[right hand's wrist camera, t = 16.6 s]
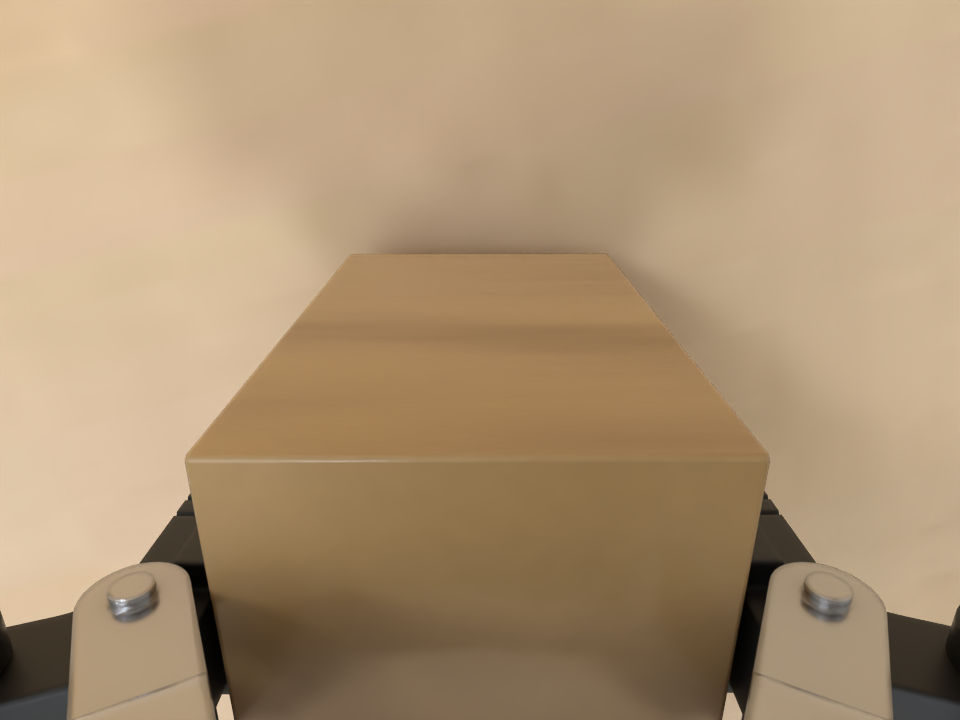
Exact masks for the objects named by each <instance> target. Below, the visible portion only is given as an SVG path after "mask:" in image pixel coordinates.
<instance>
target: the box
mask: <svg viewBox="0 0 960 720" xmlns="http://www.w3.org/2000/svg"><path fill="white" fill-rule="evenodd" d="M769 463H770V458H769V455H768V453H767V452H766V450H765V449H764V448H763V447H762V445H761V444H760V443H759V442H758V440H757V439H756V438H755V437H754V436H753V434H752V433H751V432H750V431H749V429H748V428H747V427H746V426H745V424H744V423H743V422H742V421H741V419H740V418H739V417H738V416H737V415H736V413H735V412H734V411H733V410H732V408H731V407H730V406H729V405H728V403H727V402H726V401H725V400H724V398H723V397H722V396H721V395H720V393H719V392H718V391H717V390H716V389H715V387H714V386H713V385H712V384H711V382H710V381H709V380H708V379H707V377H706V376H705V375H704V374H703V372H702V371H701V370H700V369H699V367H698V366H697V365H696V364H695V363H694V361H693V360H692V359H691V358H690V356H689V355H688V354H687V353H686V351H685V350H684V349H683V348H682V346H681V345H680V344H679V343H678V342H677V340H676V339H675V338H674V337H673V335H672V334H671V333H670V332H669V330H668V329H667V328H666V327H665V325H664V324H663V323H662V322H661V320H660V319H659V318H658V317H657V316H656V314H655V313H654V312H653V311H652V309H651V308H650V307H649V306H648V304H647V303H646V302H645V301H644V299H643V298H642V297H641V296H640V294H639V293H638V292H637V291H636V290H635V288H634V287H633V286H632V285H631V283H630V282H629V281H628V280H627V278H626V277H625V276H624V275H623V273H622V272H621V271H620V270H619V269H618V267H617V266H616V265H615V264H614V262H613V261H612V260H611V259H610V257H609V256H608V255H607V254H352V255H350V256H349V257H348V258H347V259H346V261H345V262H344V263H343V264H342V265H341V267H340V268H339V269H338V270H337V272H336V273H335V274H334V275H333V276H332V278H331V279H330V280H329V281H328V283H327V284H326V285H325V286H324V287H323V289H322V290H321V291H320V292H319V294H318V295H317V296H316V297H315V298H314V300H313V301H312V302H311V303H310V305H309V306H308V307H307V308H306V309H305V311H304V312H303V313H302V314H301V315H300V317H299V318H298V319H297V320H296V322H295V323H294V324H293V325H292V326H291V328H290V329H289V330H288V331H287V333H286V334H285V335H284V336H283V337H282V339H281V340H280V341H279V342H278V344H277V345H276V346H275V347H274V348H273V350H272V351H271V352H270V353H269V355H268V356H267V357H266V358H265V359H264V361H263V362H262V363H261V364H260V365H259V367H258V368H257V369H256V370H255V372H254V373H253V374H252V375H251V376H250V378H249V379H248V380H247V381H246V383H245V384H244V385H243V386H242V387H241V389H240V390H239V391H238V392H237V394H236V395H235V396H234V397H233V398H232V400H231V401H230V402H229V403H228V405H227V406H226V407H225V408H224V409H223V411H222V412H221V413H220V414H219V416H218V417H217V418H216V419H215V420H214V422H213V423H212V424H211V425H210V426H209V428H208V429H207V430H206V431H205V433H204V434H203V435H202V436H201V437H200V439H199V440H198V441H197V442H196V444H195V445H194V446H193V447H192V448H191V450H190V451H189V452H188V453H187V455H186V458H185V466H186V471H187V476H188V481H189V486H190V492H191V497H192V502H193V507H194V512H195V518H196V523H197V528H198V533H199V538H200V544H201V549H202V554H203V559H204V564H205V570H206V575H207V580H208V585H209V590H210V596H211V601H212V606H213V611H214V616H215V622H216V627H217V632H218V637H219V643H220V648H221V653H222V658H223V663H224V669H225V674H226V679H227V684H228V689H229V695H230V700H231V705H232V710H233V715H234V720H722V717H723V711H724V706H725V701H726V695H727V690H728V684H729V679H730V674H731V668H732V663H733V657H734V652H735V646H736V641H737V636H738V630H739V625H740V619H741V614H742V609H743V603H744V598H745V592H746V587H747V582H748V576H749V571H750V565H751V560H752V555H753V549H754V544H755V538H756V533H757V527H758V522H759V517H760V511H761V506H762V500H763V495H764V490H765V484H766V479H767V473H768V468H769Z"/></svg>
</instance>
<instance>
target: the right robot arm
mask: <svg viewBox="0 0 960 720" xmlns="http://www.w3.org/2000/svg"><path fill="white" fill-rule="evenodd" d="M727 693H734V695H735V697H736V700H737V702H738V704H739V707H740V709H741V712H742V719H741V720H960V606H959V607H958V609H957V611H956V614H955V617H954V620H953V623H952V626H947V625H943V624H938V623H933V622H929V621H924V620H920V619H915V618H911V617H906V616H901V615H897V614H893V613H889V612H886V608H885V606H884V603H883V601H882V600H881V599H880V597H879V596H878V595H877V594H876V593H875V592H874V591H873V590H872V589H871V588H870V587H869V586H868V585H866V584H865V583H864V582H862V581H861V580H859V579H858V578H856V577H854V576H852V575H850V574H849V573H846V572H844V571H842V570H839V569H837V568H834V567H831V566H827V565H823V564H819V563H816V562H815V561H814V559H813V558H812V556H811V555H810V554H809V552H808V551H807V550H806V548H805V547H804V545H803V544H802V543H801V541H800V540H799V538H798V537H797V536H796V534H795V533H794V531H793V530H792V529H791V527H790V526H789V525H788V523H787V522H786V520H785V519H784V518H783V516H782V515H779V511H778V509H777V508H776V506H775V505H774V504H773V502H772V501H771V500H770V499H768V495H767V494H766V493H765V491H764V495H763V500H762V506H761V511H760V517H759V522H758V527H757V533H756V538H755V544H754V549H753V555H752V560H751V565H750V571H749V576H748V582H747V587H746V592H745V598H744V603H743V609H742V614H741V619H740V625H739V630H738V636H737V641H736V646H735V652H734V657H733V663H732V668H731V674H730V679H729V684H728V690H727ZM222 694H229V689H228V684H227V679H226V674H225V669H224V663H223V658H222V653H221V648H220V643H219V637H218V632H217V627H216V622H215V616H214V611H213V606H212V601H211V596H210V590H209V585H208V580H207V575H206V570H205V564H204V559H203V554H202V549H201V544H200V538H199V533H198V528H197V523H196V518H195V512H194V507H193V502H192V497H191V493H190V495H189V496H188V500H185V502H184V503H183V504H182V506H181V507H180V508H179V510H178V511H177V516H174V517H173V518H172V519H171V521H170V522H169V524H168V525H167V526H166V528H165V529H164V530H163V532H162V533H161V535H160V536H159V537H158V539H157V540H156V541H155V543H154V544H153V546H152V547H151V548H150V550H149V551H148V552H147V554H146V555H145V557H144V558H143V559H142V561H141V562H140V563H139V564H137V565H133V566H129V567H126V568H123V569H121V570H118V571H116V572H114V573H111V574H110V575H108V576H106V577H104V578H102V579H101V580H99V581H98V582H96V583H95V584H94V585H92V586H91V587H90V588H89V589H88V590H87V591H86V592H85V593H84V594H83V595H82V596H81V597H80V599H79V600H78V601H77V603H76V606H75V608H74V612H71V613H68V614H64V615H60V616H56V617H51V618H47V619H42V620H38V621H33V622H29V623H24V624H19V625H15V626H10V627H6V626H5V623H4V620H3V617H2V614H1V611H0V720H219V719H218V714H217V709H216V706H217V704H218V702H219V699H220V697H221V695H222Z"/></svg>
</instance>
